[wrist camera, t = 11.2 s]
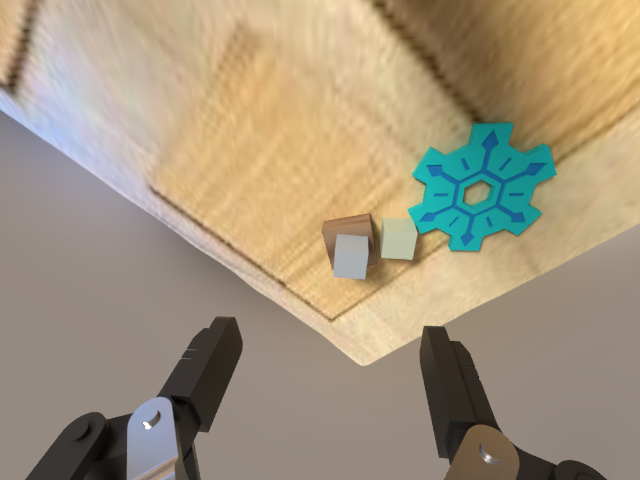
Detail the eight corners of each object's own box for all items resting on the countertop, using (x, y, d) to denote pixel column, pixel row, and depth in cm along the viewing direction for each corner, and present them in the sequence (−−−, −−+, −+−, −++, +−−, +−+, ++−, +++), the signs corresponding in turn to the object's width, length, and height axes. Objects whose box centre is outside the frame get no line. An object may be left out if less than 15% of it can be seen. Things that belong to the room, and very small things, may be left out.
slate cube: (337, 233, 47) (334, 250, 43) (367, 236, 46) (368, 253, 42) (335, 259, 50) (333, 276, 45) (364, 261, 49) (365, 279, 45)
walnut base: (324, 220, 50) (321, 231, 47) (369, 212, 49) (370, 223, 45) (334, 257, 54) (332, 269, 51) (376, 251, 52) (377, 264, 49)
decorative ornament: (523, 246, 48) (568, 119, 38) (527, 251, 47) (576, 121, 37) (403, 244, 51) (416, 125, 41) (404, 249, 50) (418, 127, 39)
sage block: (412, 218, 48) (382, 217, 48) (417, 232, 44) (384, 231, 44) (408, 243, 51) (379, 242, 51) (412, 259, 46) (381, 257, 47)
